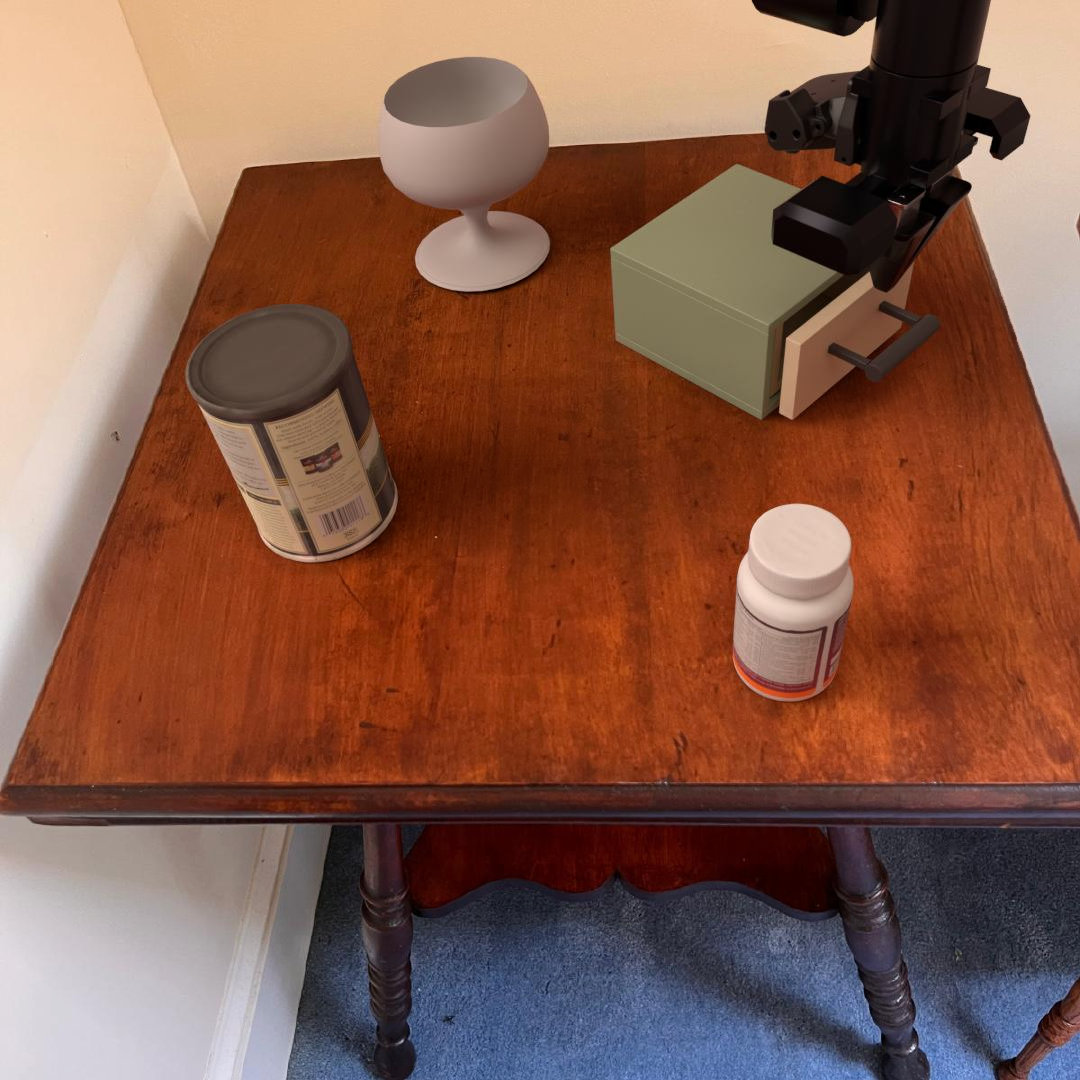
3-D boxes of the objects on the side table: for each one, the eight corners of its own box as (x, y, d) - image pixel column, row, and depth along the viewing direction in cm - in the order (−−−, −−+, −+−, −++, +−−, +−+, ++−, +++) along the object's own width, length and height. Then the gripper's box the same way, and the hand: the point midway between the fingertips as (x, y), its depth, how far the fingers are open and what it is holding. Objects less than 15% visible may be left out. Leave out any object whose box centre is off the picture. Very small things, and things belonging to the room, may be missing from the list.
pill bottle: (797, 605, 64) (815, 478, 56) (859, 678, 60) (888, 554, 52) (711, 646, 63) (716, 522, 54) (769, 723, 59) (784, 603, 51)
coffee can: (319, 441, 79) (262, 286, 68) (426, 485, 74) (384, 328, 64) (226, 531, 73) (149, 379, 63) (335, 585, 69) (273, 431, 58)
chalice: (591, 234, 93) (578, 68, 82) (497, 320, 86) (470, 152, 75) (470, 196, 99) (443, 37, 88) (374, 273, 92) (331, 112, 81)
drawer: (954, 351, 76) (974, 274, 71) (845, 449, 71) (858, 373, 66) (759, 264, 86) (764, 190, 81) (650, 344, 81) (648, 270, 75)
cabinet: (879, 322, 81) (896, 225, 74) (761, 420, 75) (769, 325, 69) (732, 255, 89) (736, 163, 82) (615, 340, 83) (609, 248, 76)
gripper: (895, -36, 65) (863, 188, 77) (702, 82, 58) (699, 310, 70) (1064, 4, 59) (1001, 240, 71) (873, 141, 52) (838, 378, 64)
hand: (883, 288), depth 69 cm, fingers closed
